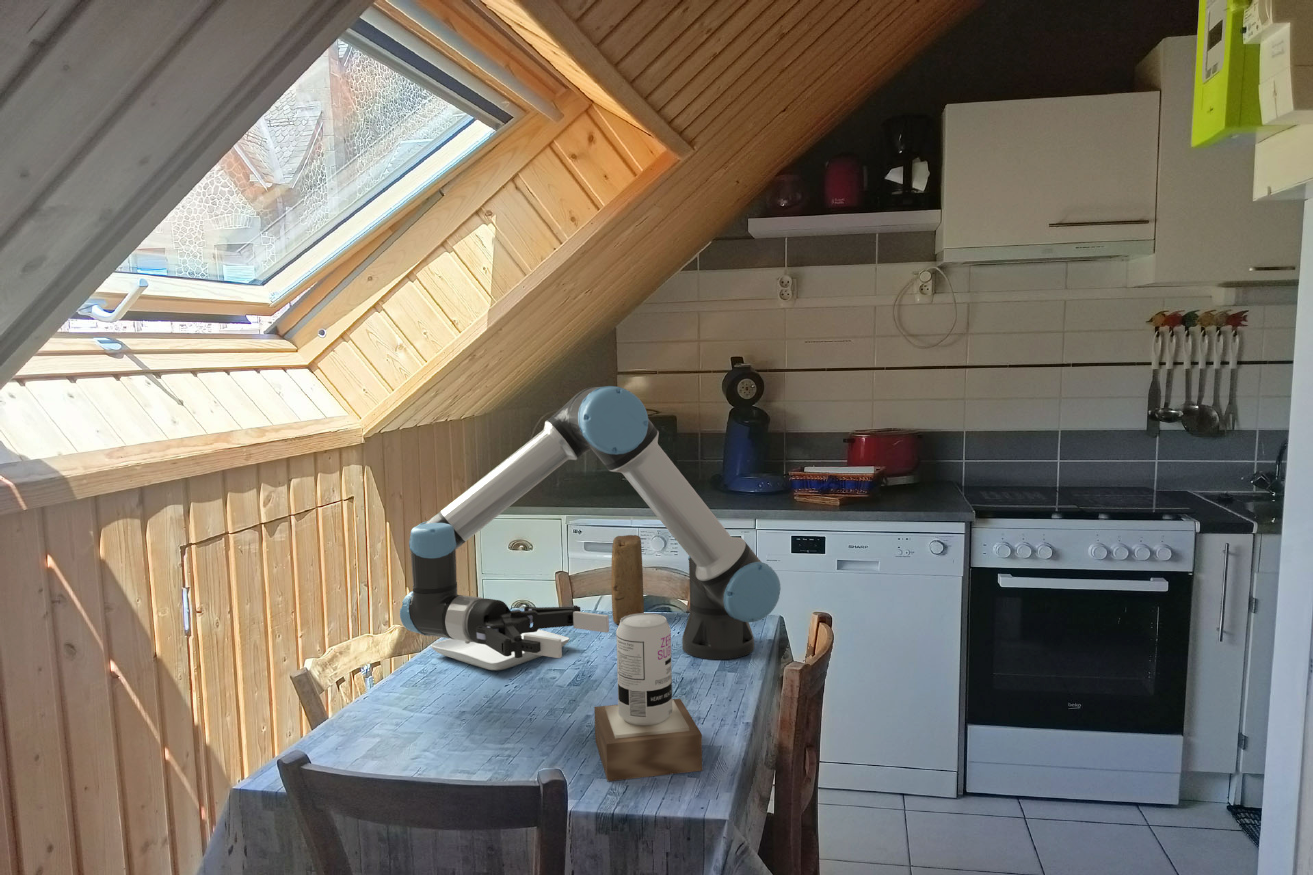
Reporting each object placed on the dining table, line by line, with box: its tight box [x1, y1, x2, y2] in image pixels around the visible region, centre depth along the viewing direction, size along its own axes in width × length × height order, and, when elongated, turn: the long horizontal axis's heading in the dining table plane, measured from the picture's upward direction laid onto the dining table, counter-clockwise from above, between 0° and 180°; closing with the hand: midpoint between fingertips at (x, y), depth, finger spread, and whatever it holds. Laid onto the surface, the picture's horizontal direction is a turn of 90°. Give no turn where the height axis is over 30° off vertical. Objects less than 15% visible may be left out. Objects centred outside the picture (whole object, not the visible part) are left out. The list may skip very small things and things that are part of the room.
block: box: [610, 534, 645, 626], centre depth 200 cm, size 11×8×20 cm
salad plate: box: [430, 629, 570, 671], centre depth 179 cm, size 21×21×3 cm
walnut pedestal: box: [593, 698, 703, 782], centre depth 130 cm, size 14×14×6 cm
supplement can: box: [615, 612, 673, 726], centre depth 129 cm, size 8×8×15 cm
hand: (585, 635), depth 134 cm, fingers open, 13 cm apart
